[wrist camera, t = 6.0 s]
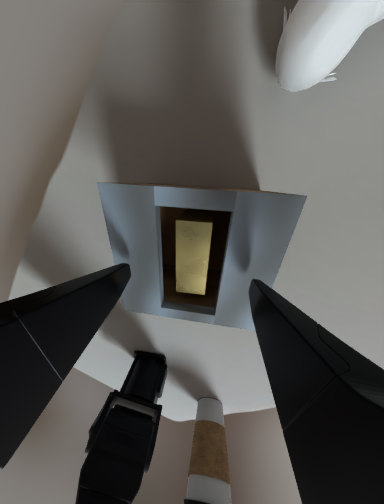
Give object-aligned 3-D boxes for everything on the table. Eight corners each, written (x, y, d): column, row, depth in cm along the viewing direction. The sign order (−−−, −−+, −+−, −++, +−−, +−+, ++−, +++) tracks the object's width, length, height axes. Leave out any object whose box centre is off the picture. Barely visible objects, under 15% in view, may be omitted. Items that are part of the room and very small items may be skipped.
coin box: (156, 265, 19) (124, 310, 12) (150, 183, 15) (96, 182, 8) (239, 276, 18) (255, 330, 11) (260, 190, 13) (307, 196, 7)
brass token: (187, 258, 17) (176, 291, 12) (188, 207, 15) (175, 220, 9) (206, 260, 17) (204, 294, 12) (212, 208, 14) (212, 223, 9)
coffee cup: (203, 411, 37) (197, 540, 24) (186, 396, 34) (170, 530, 21) (233, 410, 34) (246, 554, 21) (218, 393, 32) (221, 545, 18)
